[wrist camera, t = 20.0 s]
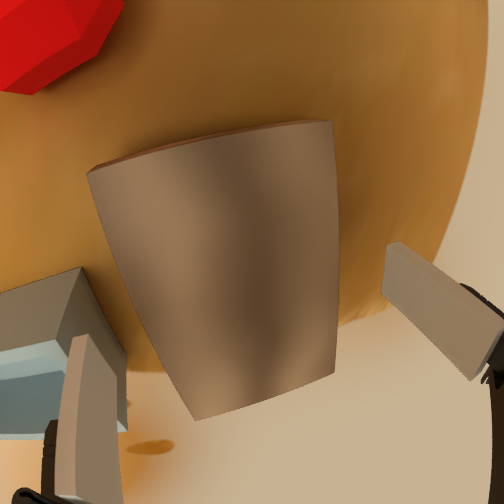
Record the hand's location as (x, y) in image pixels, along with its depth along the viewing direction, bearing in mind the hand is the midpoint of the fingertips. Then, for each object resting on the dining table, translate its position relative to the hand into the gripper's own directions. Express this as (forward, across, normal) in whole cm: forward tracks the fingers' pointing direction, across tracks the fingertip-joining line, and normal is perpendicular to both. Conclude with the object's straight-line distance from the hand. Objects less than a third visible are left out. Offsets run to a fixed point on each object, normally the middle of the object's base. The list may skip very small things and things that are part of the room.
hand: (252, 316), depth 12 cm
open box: (+8, -17, -3) cm, 19 cm away
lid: (+4, 0, -1) cm, 4 cm away
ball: (+9, -7, +16) cm, 19 cm away
